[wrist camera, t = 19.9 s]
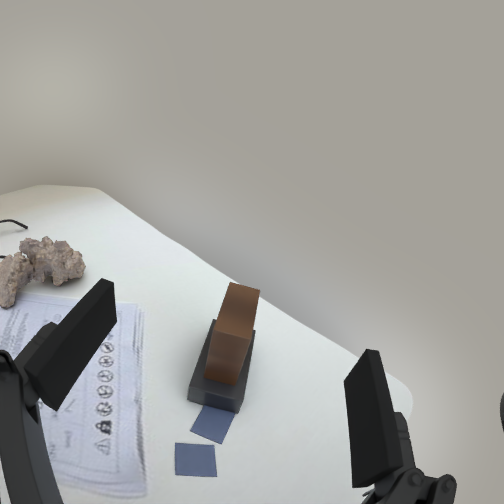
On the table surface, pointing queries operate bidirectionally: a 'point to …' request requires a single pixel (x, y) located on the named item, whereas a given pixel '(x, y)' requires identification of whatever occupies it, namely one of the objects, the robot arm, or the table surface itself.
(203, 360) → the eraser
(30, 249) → the rock
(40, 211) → the table surface
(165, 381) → the table surface
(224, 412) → the pair of blue tiles
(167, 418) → the table surface
